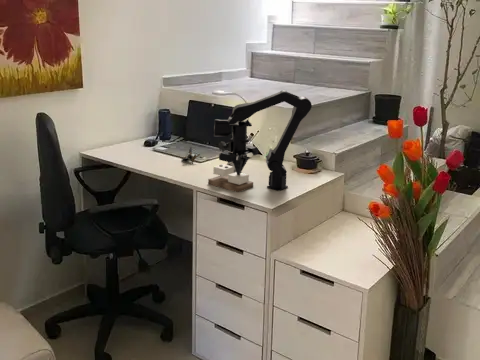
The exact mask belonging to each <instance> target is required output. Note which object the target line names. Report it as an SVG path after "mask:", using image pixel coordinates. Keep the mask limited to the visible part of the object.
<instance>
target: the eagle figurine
mask: <svg viewBox="0 0 480 360" xmlns="http://www.w3.org/2000/svg"><path fill="white" fill-rule="evenodd" d="M192 154H193V147H192V146H190V147H189V149H188V154H187V155H186V156H184V157H183V158H181V160H189V161H191V163H192V164H194V162H195V160H196V159H197V158H198V157H200V155H201V154H200V153H198V155H197V154H196V153H194V155H192Z"/></svg>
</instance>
